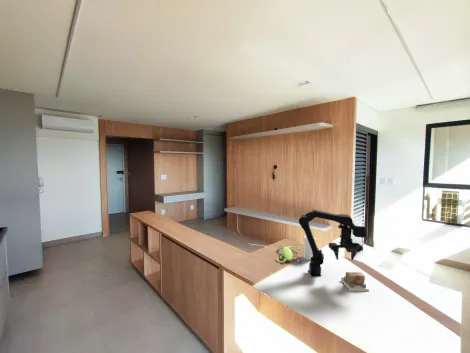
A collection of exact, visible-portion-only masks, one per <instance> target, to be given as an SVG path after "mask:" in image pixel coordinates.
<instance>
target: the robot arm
mask: <svg viewBox="0 0 470 353" xmlns="http://www.w3.org/2000/svg"><path fill="white" fill-rule="evenodd" d="M315 218H319V219H323V220H328V221H333V222H335V223H338V224H339V225H337V228H338V229H340V235H339V238H340V241H339V244H337V243H336V242H329V243H328V246H327V247H328V248H329V249H330V250H331V251H333V253H334V256H335V259H336V260H337V261H338V260H339V253H340V249H345V251H346V252H348V253H350V260H352V261H353V260H354V259H355V257H356V255H357V253H360V252H361V251H363V250H364V247H363V245H361V244H360V243H358V242H353V238H352V235H353V237H355V238H361V239H362V238H363V239H366V238H367V231H366V226H364V225H362V226H361V225H355V223H354V221H353V218H352V216H350V215H349V214H345V213H343V214H342V213H340V214H335V213H331V212H325V211H321V210H317V209H312V210H311V211H310V212H307V213H305V214H301V215H300V216H299V219H298V224H299V226H301V228H302V230H303V232H304V234H305V236H307V239H308V241H309V244H310V247H311V249H312V253H313V257H311V258H310V260H309V261H310V263H309V265H308V270H307V271H308V273H309V274H310V276H311V277H322V274H321V273H322V267H321V265H323V264H324V260H325V254H324V253H323V250H322V249H319V248H318V245H317V242H315V240H314V237H315V236H314V234H313V232H312V229H311V226H310V222H311V221H313V220H314V219H315ZM313 236H314V237H313Z"/></svg>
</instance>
